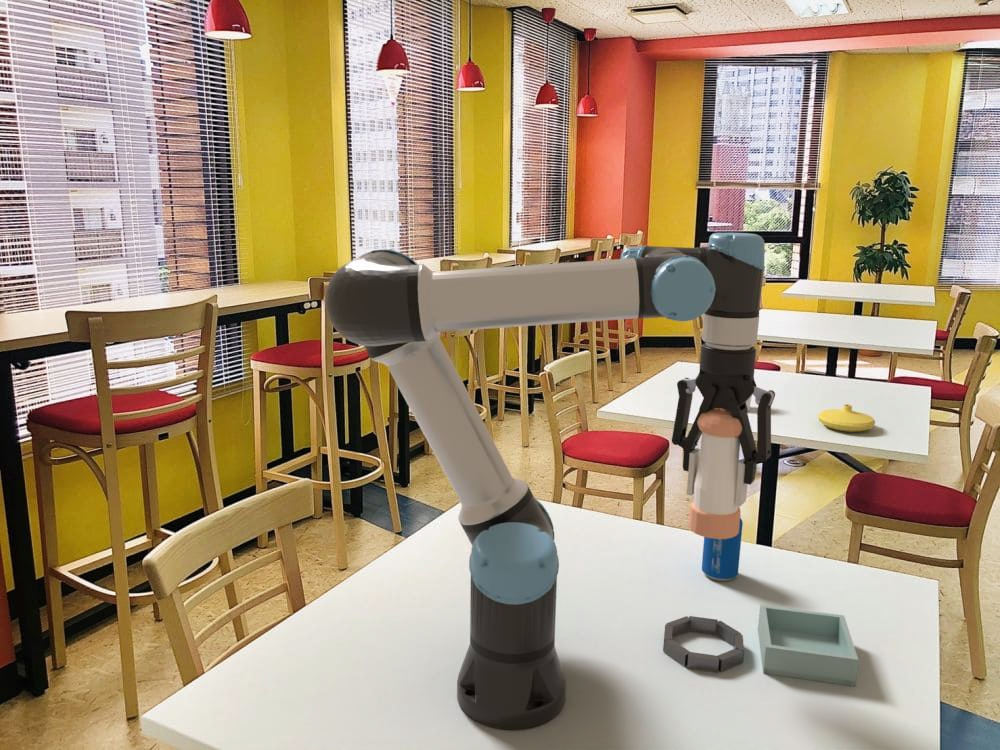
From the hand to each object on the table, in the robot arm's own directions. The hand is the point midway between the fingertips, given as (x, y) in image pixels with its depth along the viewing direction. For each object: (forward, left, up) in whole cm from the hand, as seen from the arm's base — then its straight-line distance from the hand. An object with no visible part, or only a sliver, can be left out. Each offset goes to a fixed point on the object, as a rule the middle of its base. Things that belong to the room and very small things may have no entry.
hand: (716, 497), depth 120 cm
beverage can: (+26, -3, -25) cm, 36 cm away
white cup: (+144, -11, -25) cm, 147 cm away
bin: (+2, -15, -25) cm, 29 cm away
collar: (0, 0, -25) cm, 25 cm away
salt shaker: (0, 0, -5) cm, 5 cm away
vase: (+132, -41, -25) cm, 140 cm away
